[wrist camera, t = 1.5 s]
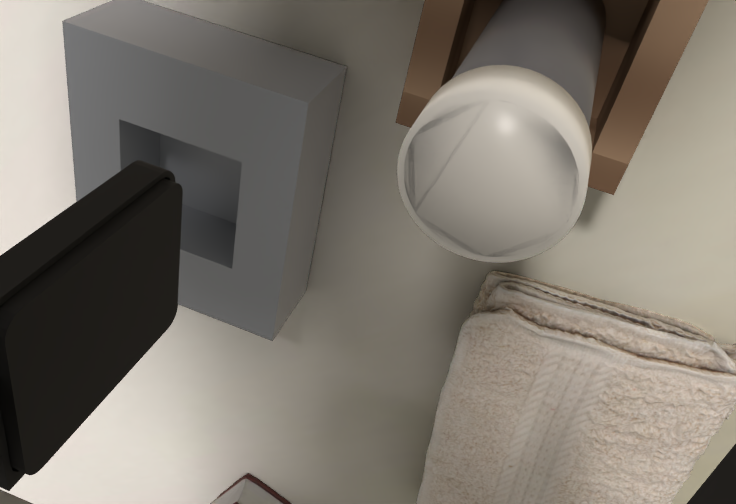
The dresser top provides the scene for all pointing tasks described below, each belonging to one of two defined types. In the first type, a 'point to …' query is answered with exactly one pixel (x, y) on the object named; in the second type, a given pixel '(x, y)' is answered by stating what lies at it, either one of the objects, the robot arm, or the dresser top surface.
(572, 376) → the washcloth
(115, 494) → the dresser top surface
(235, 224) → the port
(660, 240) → the dresser top surface
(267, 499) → the book
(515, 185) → the grey and white cylinder
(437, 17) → the holster
